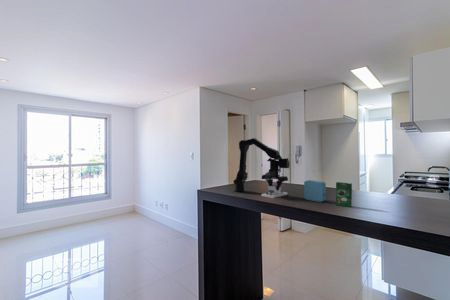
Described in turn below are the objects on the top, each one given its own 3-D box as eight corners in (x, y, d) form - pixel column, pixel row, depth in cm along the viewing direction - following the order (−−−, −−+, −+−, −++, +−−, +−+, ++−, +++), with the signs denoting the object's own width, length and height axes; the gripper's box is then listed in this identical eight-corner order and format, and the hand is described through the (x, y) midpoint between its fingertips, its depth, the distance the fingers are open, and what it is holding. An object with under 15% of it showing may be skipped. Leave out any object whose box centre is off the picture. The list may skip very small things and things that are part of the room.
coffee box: (352, 206, 125) (352, 182, 125) (351, 207, 122) (351, 183, 122) (336, 204, 129) (336, 181, 129) (335, 205, 127) (335, 182, 127)
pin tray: (261, 195, 156) (261, 191, 156) (276, 192, 167) (275, 188, 167) (273, 198, 148) (273, 193, 148) (287, 194, 159) (287, 189, 159)
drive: (267, 192, 155) (267, 185, 155) (274, 190, 163) (274, 184, 163) (274, 193, 152) (274, 186, 152) (280, 191, 160) (280, 184, 160)
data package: (326, 201, 138) (325, 181, 138) (322, 202, 135) (322, 182, 135) (307, 198, 147) (307, 180, 147) (304, 199, 144) (303, 180, 144)
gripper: (256, 167, 159) (256, 189, 159) (278, 169, 145) (278, 193, 145) (266, 166, 167) (266, 187, 167) (288, 168, 153) (288, 191, 153)
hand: (274, 190), depth 158 cm, fingers closed on drive, 5 cm apart
